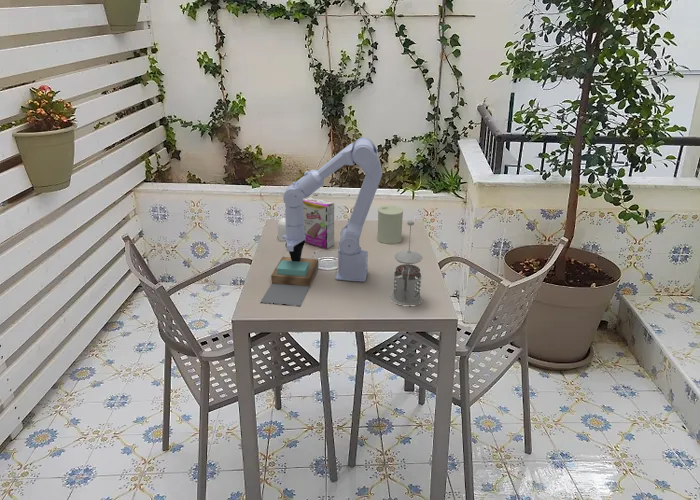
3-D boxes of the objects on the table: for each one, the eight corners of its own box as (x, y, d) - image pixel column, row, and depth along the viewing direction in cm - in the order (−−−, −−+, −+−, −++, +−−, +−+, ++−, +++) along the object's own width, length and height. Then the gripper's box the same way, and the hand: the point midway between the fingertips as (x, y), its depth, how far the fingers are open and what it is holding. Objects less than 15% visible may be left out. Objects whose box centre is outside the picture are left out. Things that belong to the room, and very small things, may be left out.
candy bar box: (301, 242, 207) (300, 200, 200) (309, 238, 211) (308, 196, 204) (327, 249, 201) (326, 206, 195) (335, 245, 205) (334, 202, 199)
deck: (318, 267, 188) (318, 259, 187) (309, 287, 176) (309, 278, 175) (283, 264, 190) (282, 256, 189) (271, 284, 177) (271, 275, 176)
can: (385, 232, 217) (386, 202, 212) (406, 238, 212) (408, 207, 207) (372, 240, 210) (372, 209, 205) (393, 246, 205) (394, 214, 200)
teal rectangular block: (309, 268, 181) (309, 262, 180) (305, 276, 176) (305, 270, 175) (282, 265, 182) (281, 260, 182) (277, 274, 177) (276, 268, 176)
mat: (309, 287, 176) (309, 286, 176) (300, 306, 165) (300, 305, 165) (271, 284, 177) (271, 283, 177) (260, 302, 167) (260, 302, 166)
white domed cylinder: (295, 236, 212) (294, 216, 209) (288, 242, 207) (287, 221, 204) (282, 234, 214) (281, 214, 210) (275, 239, 209) (274, 219, 206)
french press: (424, 292, 173) (430, 215, 163) (420, 311, 163) (425, 230, 153) (392, 289, 175) (396, 212, 165) (386, 307, 165) (389, 227, 155)
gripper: (288, 214, 184) (289, 252, 189) (275, 231, 171) (277, 271, 176) (309, 215, 183) (310, 254, 188) (298, 232, 170) (300, 273, 175)
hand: (296, 262), depth 182 cm, fingers closed
